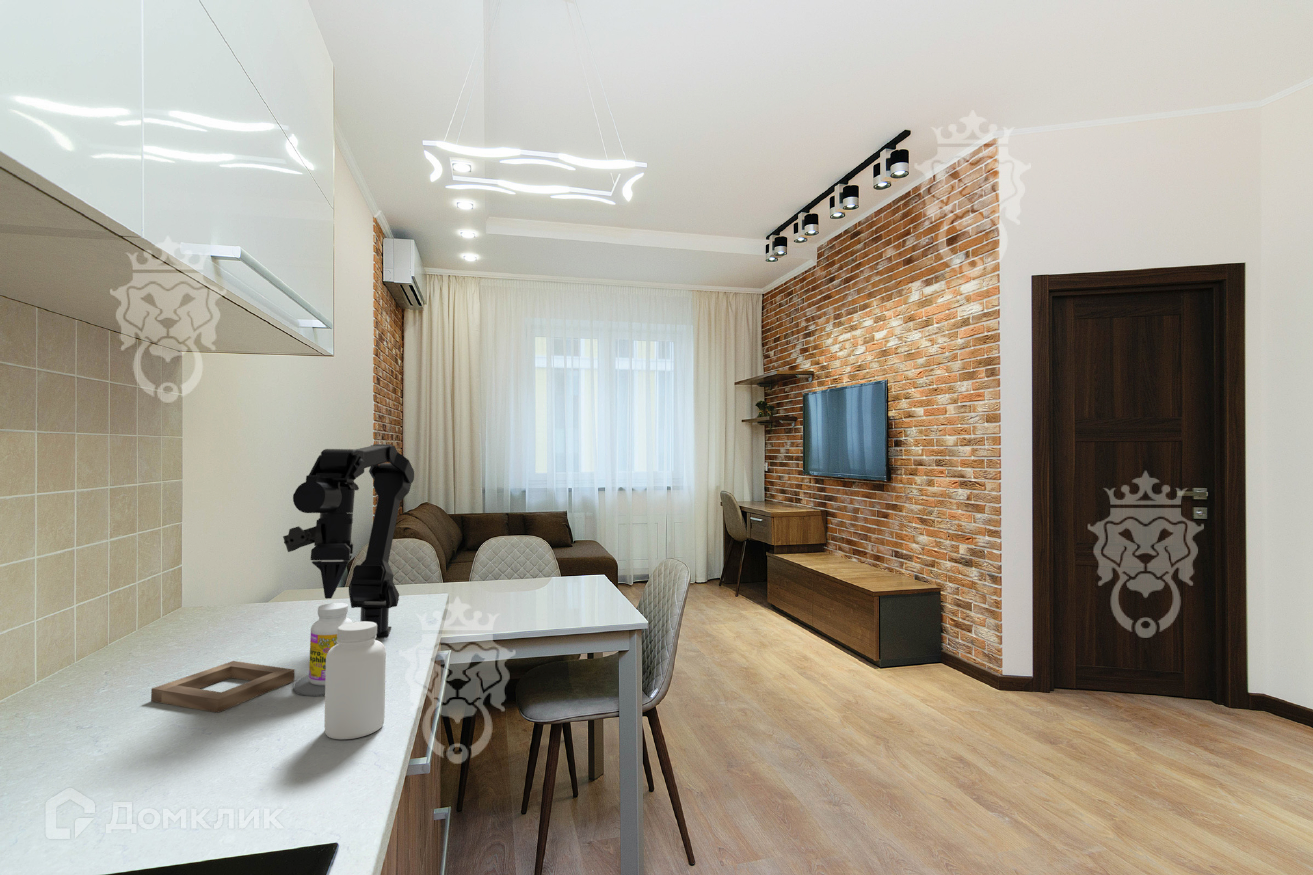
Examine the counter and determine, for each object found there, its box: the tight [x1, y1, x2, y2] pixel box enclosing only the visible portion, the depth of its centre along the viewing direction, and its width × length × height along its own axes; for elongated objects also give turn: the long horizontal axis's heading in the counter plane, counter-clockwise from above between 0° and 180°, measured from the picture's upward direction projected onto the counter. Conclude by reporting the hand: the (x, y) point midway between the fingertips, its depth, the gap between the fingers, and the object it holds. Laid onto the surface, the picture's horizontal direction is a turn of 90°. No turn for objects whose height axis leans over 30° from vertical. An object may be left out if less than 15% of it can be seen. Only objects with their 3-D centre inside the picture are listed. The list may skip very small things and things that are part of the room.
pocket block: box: [150, 660, 296, 713], centre depth 103 cm, size 14×14×2 cm
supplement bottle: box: [308, 602, 353, 686], centre depth 107 cm, size 7×7×13 cm
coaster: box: [293, 675, 325, 697], centre depth 107 cm, size 11×11×1 cm
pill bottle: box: [323, 621, 387, 740], centre depth 90 cm, size 8×8×15 cm
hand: (330, 595), depth 118 cm, fingers open, 9 cm apart
